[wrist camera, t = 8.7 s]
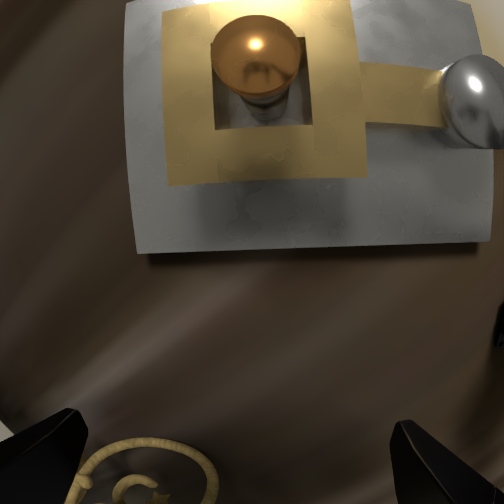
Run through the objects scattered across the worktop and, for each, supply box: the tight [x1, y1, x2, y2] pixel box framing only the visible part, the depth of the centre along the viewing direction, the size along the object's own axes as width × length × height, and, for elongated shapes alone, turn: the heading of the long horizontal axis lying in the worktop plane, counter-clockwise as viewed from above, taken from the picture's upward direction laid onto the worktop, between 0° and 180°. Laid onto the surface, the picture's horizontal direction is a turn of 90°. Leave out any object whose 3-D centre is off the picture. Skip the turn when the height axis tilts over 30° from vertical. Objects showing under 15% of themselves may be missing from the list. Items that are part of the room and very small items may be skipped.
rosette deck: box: [124, 0, 504, 254], centre depth 14 cm, size 22×16×6 cm
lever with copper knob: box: [210, 15, 301, 120], centre depth 12 cm, size 3×3×8 cm
